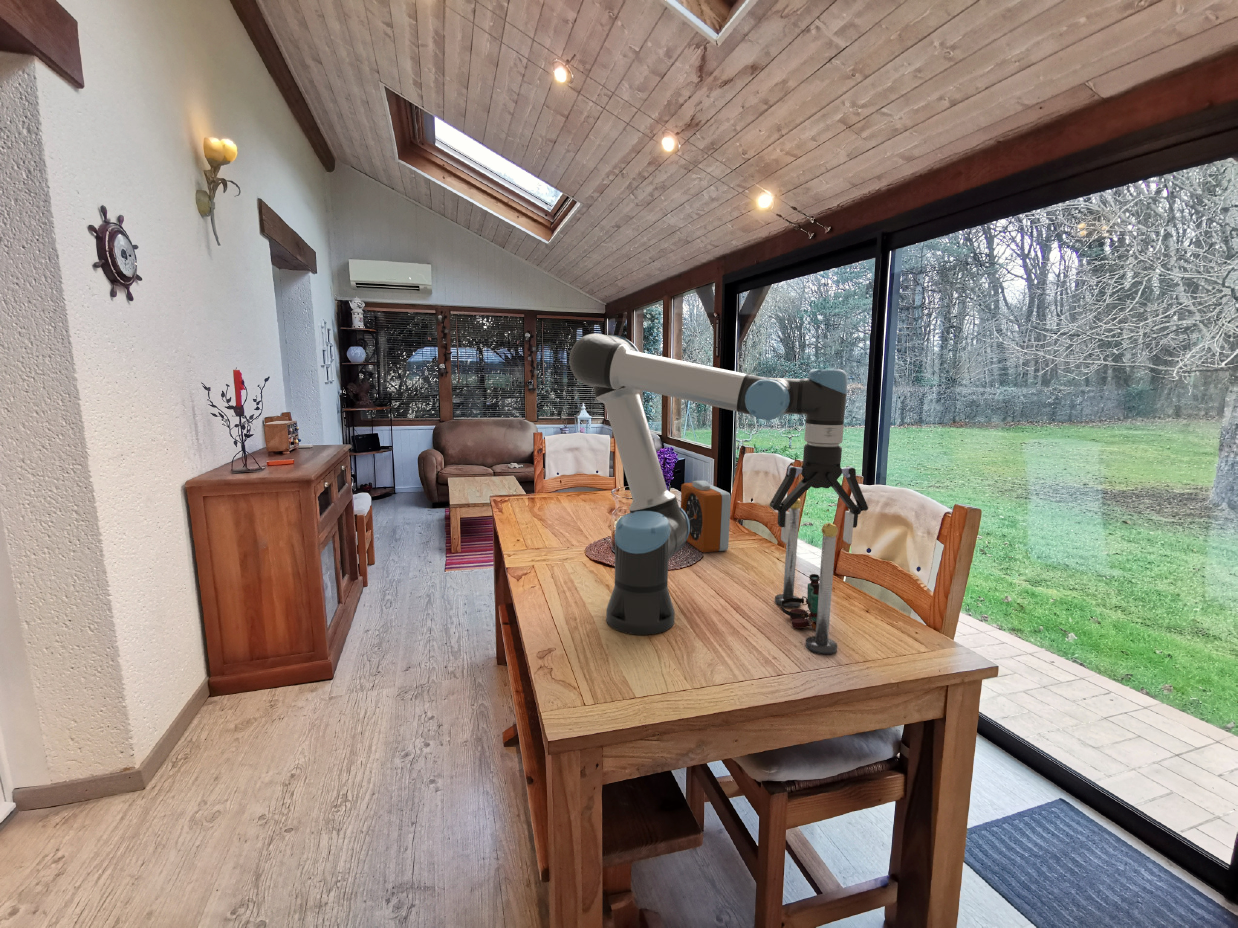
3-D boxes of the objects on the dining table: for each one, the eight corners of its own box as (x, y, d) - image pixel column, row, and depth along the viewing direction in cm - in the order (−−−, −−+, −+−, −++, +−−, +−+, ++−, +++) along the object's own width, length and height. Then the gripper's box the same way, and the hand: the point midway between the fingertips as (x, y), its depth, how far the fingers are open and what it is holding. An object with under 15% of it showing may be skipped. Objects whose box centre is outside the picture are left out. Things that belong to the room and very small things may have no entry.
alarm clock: (678, 536, 187) (680, 476, 184) (702, 534, 190) (705, 474, 187) (703, 554, 170) (705, 487, 167) (729, 551, 173) (732, 486, 169)
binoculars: (778, 572, 129) (824, 571, 126) (780, 616, 130) (825, 616, 128) (781, 586, 120) (830, 586, 118) (783, 633, 121) (832, 634, 119)
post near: (811, 654, 111) (820, 527, 107) (801, 640, 117) (809, 518, 113) (841, 655, 111) (852, 527, 107) (830, 640, 117) (839, 519, 113)
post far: (778, 607, 133) (786, 500, 128) (771, 597, 139) (778, 494, 134) (804, 608, 133) (812, 500, 128) (796, 597, 139) (803, 494, 134)
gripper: (768, 445, 114) (762, 546, 118) (891, 447, 114) (881, 547, 118) (759, 441, 122) (753, 535, 125) (874, 442, 122) (865, 536, 125)
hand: (815, 541), depth 122 cm, fingers open, 13 cm apart
